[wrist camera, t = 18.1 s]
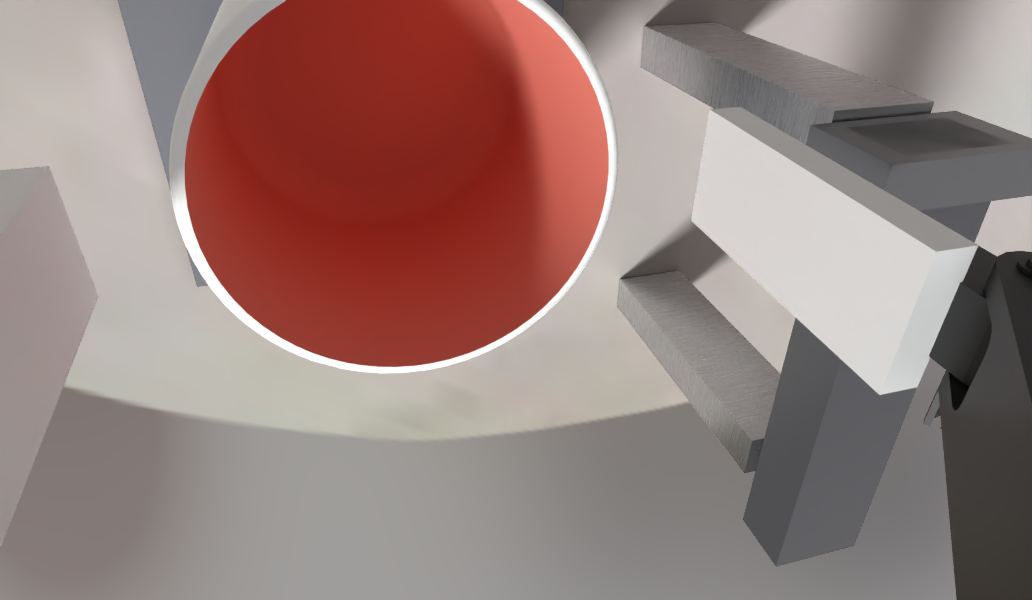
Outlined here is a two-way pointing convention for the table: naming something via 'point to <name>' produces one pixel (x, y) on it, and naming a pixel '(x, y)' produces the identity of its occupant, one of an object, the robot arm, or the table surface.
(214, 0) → the mat
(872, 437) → the bar
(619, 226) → the table surface
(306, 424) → the table surface
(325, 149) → the cup
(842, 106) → the posts
